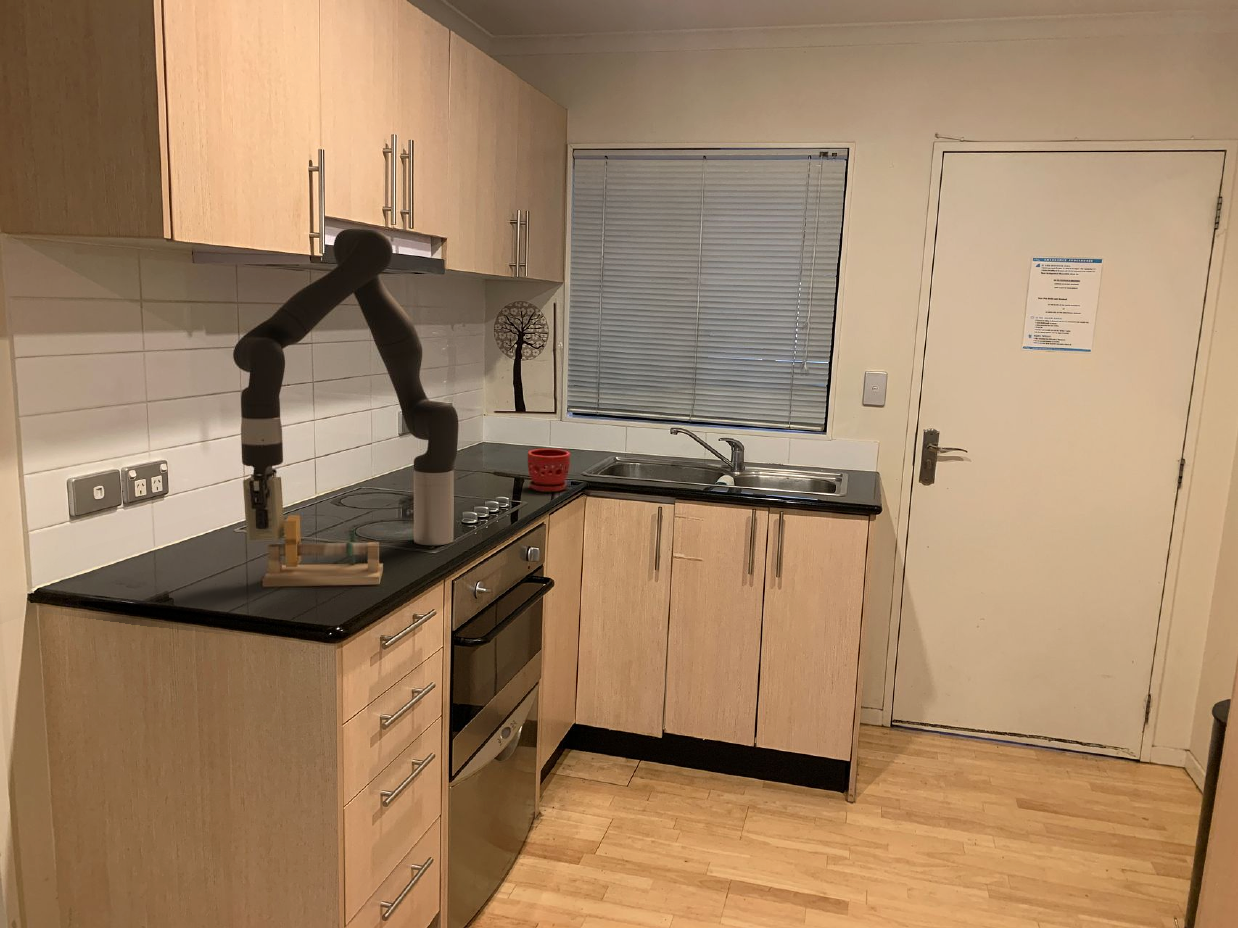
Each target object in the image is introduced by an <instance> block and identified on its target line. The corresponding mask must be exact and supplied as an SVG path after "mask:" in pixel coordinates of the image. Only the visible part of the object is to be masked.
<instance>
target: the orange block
mask: <svg viewBox="0 0 1238 928" xmlns="http://www.w3.org/2000/svg"><path fill="white" fill-rule="evenodd" d="M300 516H301V515H300V514H293V515H292V514H290V515H289V514H288V516H287V518H286V519H284V533H285V535H284V537H285V539H284V540H285V541H284V542H285V543H284V544H285V552H286V556H285V565H286V567H297V565H300V562H301V561H302V556H297V544H302V541H301V539H302V538H301V517H300Z"/></svg>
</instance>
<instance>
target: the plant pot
mask: <svg viewBox="0 0 1238 928" xmlns="http://www.w3.org/2000/svg"><path fill="white" fill-rule="evenodd" d="M570 458H571V455H570V452H569V451H568V450H563V449H557V448H537V449H532V450H528V452H527V470H528V475H529V477H530V479H531V481H530V482H529V483H528V484H529V486H530V488H531V489H533V490H535V491H538V492H542V493H544V492H546V493H554V492H560V491H563V490H564V489H566V487H567V484H568V483H567V482H566V479H567V477H568V474H569V469H570V463H571V462H570V461H571V459H570ZM552 466H553V467H552Z"/></svg>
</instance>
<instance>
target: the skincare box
mask: <svg viewBox="0 0 1238 928" xmlns="http://www.w3.org/2000/svg"><path fill="white" fill-rule="evenodd" d="M250 480H251V476H250V477H248V478H246V479H243V480H242V486H243V488H242V489H243V498H244V499H243V500H244V514H245V528H246V529H245V530H246V540H247V541H249V542H250V541H252V542H253V541H255V542H256V541H257V542H258V541H261V542H265V541H267V542H268V541H269V542H270V541H275V542H276V541H279V540H281V539H282V538H283V537H285V519H284V517H285V516H284V501H283V487H282V477H281V476H276V477H275V478H273V479H272V480H267V489H268V486H270V493H271V496H270V498H268V506H269V508H268V525H269V526H268V528H267V529H257V528H256V515H255V510H254V509H252V507H251V505H252V504H251V495H250V485H249V482H250ZM267 489H266V490H265V494H266V493H267ZM258 503H262V499H261V498H258Z"/></svg>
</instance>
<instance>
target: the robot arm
mask: <svg viewBox="0 0 1238 928" xmlns="http://www.w3.org/2000/svg"><path fill="white" fill-rule="evenodd" d="M332 248H333V250H332V251H333V254H334V259H335V262H336V264H337V266H336V267H334V269H333V270H331V271H329V272H328V273H327V274H325V275H324V276H322V277H321V278H319V279H317V280H315V281H313V282H312V283H309V284H308V285H307V286H304V287H302V289H300V290H299V291H297V292H296V293H295V294H294V295H292V296H291V297H290V298H289V299H288V300H287V301H286V302H285V303H284V304H283V305H281V306H280V307H279V309H277V310H276V311H275V312H274V313H273V315H272V316H271V317H269V318H268V319H266V320H264V321H263V322H261V323H260V324H258V325H257V326H255V327H254V328H252V329H251V330H250V331H248V332H247V333H246V334H245V335H243V336H242V337H241V338H240V339H239V340H238V342H237V343H236V345H234V346H235V347H234V349H233V354H232V358H233V361H234V364H235V365H236V366H237V368H239V369H240V370H242V371H244V372H245V373H249V378H248V386H247V387H244V389H242V391H241V393H240V394H241V395H240V408H241V410H240V411H241V423H240V443H241V446H240V447H241V448H240V449H241V463H242V464H243V465H244V466H246V467H251V468H253V474H251V475H250V477H251V480H250V482H249V485H250V495H251V504H252V505H251V507H252V509H254V510H255V515H256V528H257V529H267V528H268V526H269V525H268V508H269V506H268V498H270V496H271V493H270V486H268V489H267V480H272V479H273V478H275V477H277V469H276V468H275V469H274V468H273V467H276V466H280V465H282V464H283V463H284V450H283V449H284V448H283V447H284V446H283V444H284V442H283V427H282V426H283V425H282V419H281V401H280V399H281V398H280V395H281V391H282V387H283V380H284V375H285V371H286V370H285V369H286V357H285V353H284V349H285V348H287V347H288V346H291V345H296V344H298V343H299V342H301V341H302V340H303V339H304V338H306V336H307V335H308V334H309V333H310V332H311V331H312V330H314V329H315V327H316V326H317V325H318V324H319V323H320V322H321V321H322V320H323V319H324V318H326V316H328V314H330V312H332V311H333V310H335V308H336V307H338V306H339V305H340V304H341V303H343V302H344V301H345V300H346V299H347V298H349V297H350V296H351V295H354V297H355V299H356V301H357V303H358V306H359V309H360V310H361V313H362V316H363V318H364V320H365V321H366V322H365V323H367V327H368V328H369V330H370V332H371V336H372V339H373V341H374V345H375V346H376V349H377V351H378V353H379V356H380V357H381V359H382V361H383V363H384V366H385V368H386V371H387V373H388V376H389V378H390V381H391V383H392V385H393V388H394V391H395V393H396V397H397V400H398V403H399V406H400V410H401V414H402V417H403V420H404V423H405V426H406V428H407V430H408V432H409V434H411V435H412V437H414V438H416V439H418V440H422V441H427V449H426V451H425V453H423V454H420V455H417V456H416V457H414V459H413V542H414V543H415V544H417V545H424V546H442V545H449V544H452V543H453V542H454V523H455V521H454V520H455V519H454V514H455V513H454V511H455V510H454V509H455V508H454V507H455V504H454V503H455V500H454V496H455V491H454V489H455V486H454V485H455V479H454V477H455V476H454V475H455V473H454V471H455V470H454V469H455V462H456V458H457V456H458V443H459V441H458V439H459V426H460V425H459V418H458V417H459V416H458V412H457V410H456V408H455V407H454V405H452V404H451V403H448V402H442V401H434V400H430V398H428V396H427V395H426V392H425V390H424V387H423V385H422V383H421V378H420V377H421V375H420V372H421V367H422V361H423V346H422V342H421V340H420V338H419V334H418V332H417V331H416V328H415V325H414V322H413V321H412V319H411V318H410V316H409V315H408V313H407V312H406V311H405V310H404V308H403V307H402V306H401V304H399V302H398V301H397V300H396V299H395V298H394V297H393V296H392V294H391V293H390V292H389V290H388V289H387V287H386V286H385V284H384V282H383V281H382V278H381V276H380V274H382V273H383V272H384V271H386V269H388V268H389V266H390V264H391V262H392V259H393V254H394V253H393V252H394V251H393V245H392V242H391V241H390V239H389V237H388V236H387V235H385V234H384V233H383V232H381V231H378V230H374V229H368V228H367V229H366V228H347V229H343V230H341V231H340V232H339V233H337V235H336V237H335V238H334V242H333V247H332ZM266 489H267V493H266V494H265V490H266ZM258 498H261V499H262V503H258Z"/></svg>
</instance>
